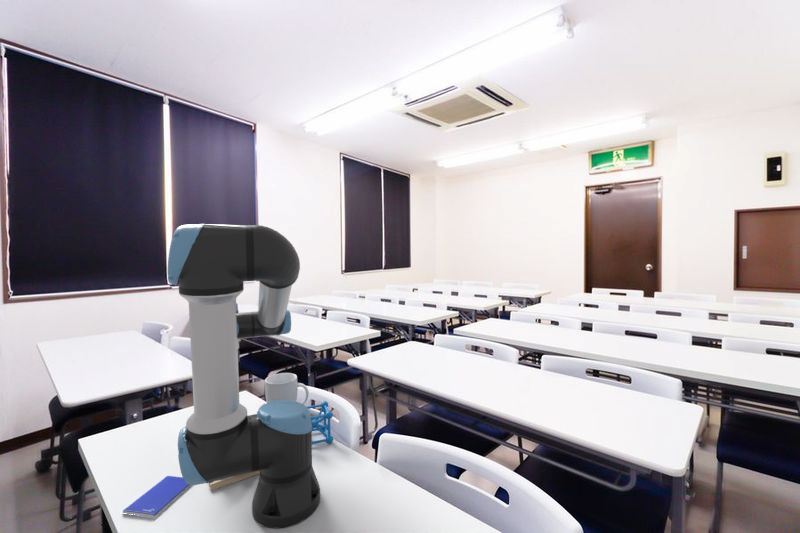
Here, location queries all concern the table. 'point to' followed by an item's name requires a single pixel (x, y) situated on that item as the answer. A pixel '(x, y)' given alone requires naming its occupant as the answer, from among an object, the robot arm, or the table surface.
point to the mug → (283, 387)
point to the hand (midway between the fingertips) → (228, 424)
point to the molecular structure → (324, 427)
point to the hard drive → (158, 497)
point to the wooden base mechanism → (231, 480)
